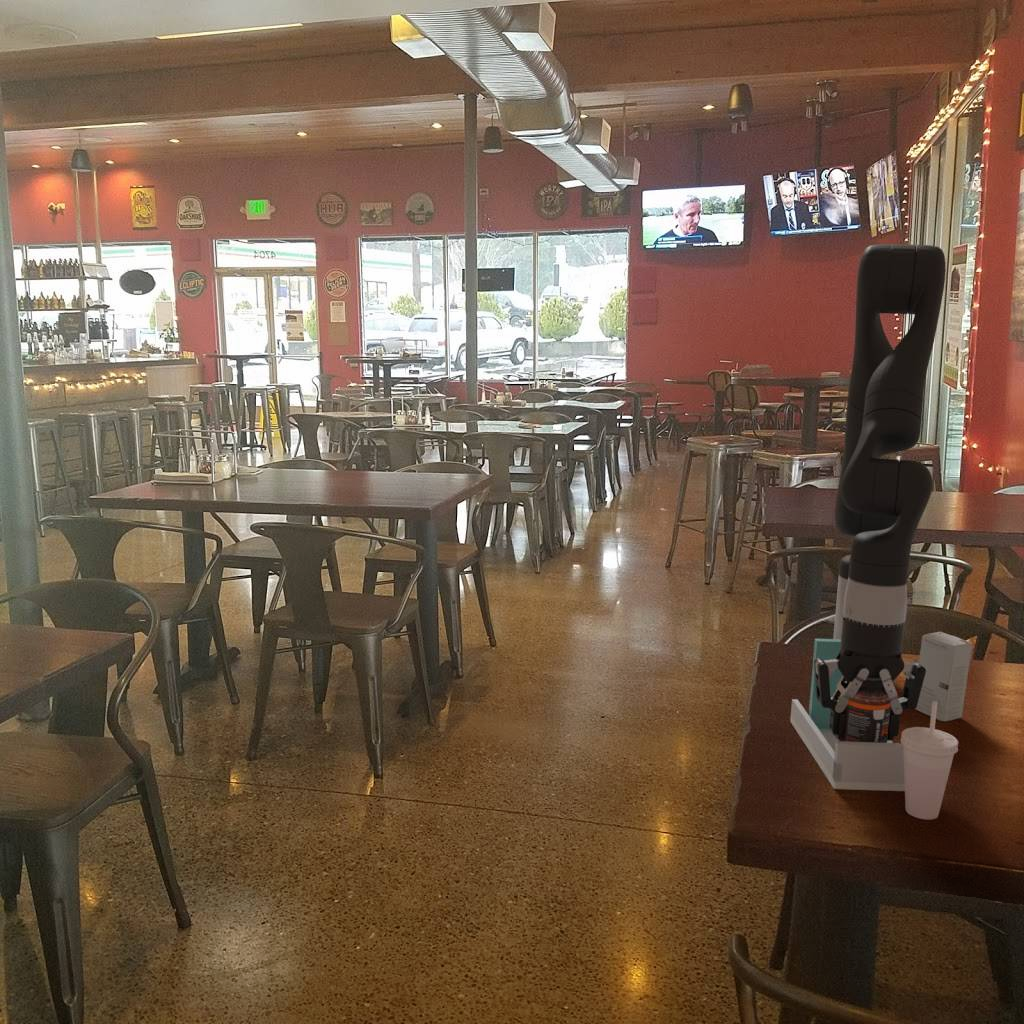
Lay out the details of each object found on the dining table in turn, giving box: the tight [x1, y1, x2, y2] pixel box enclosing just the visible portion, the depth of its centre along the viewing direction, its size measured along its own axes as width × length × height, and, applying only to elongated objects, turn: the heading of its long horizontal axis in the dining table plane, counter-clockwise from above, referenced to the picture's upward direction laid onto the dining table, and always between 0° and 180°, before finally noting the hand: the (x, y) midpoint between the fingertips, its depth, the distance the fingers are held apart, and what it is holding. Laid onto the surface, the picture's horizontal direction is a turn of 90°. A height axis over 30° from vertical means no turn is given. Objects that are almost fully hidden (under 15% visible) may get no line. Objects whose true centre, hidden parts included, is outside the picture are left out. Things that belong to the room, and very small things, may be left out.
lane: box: [790, 698, 905, 792], centre depth 136 cm, size 22×10×6 cm, turn 179°
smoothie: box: [900, 701, 959, 821], centre depth 119 cm, size 6×6×14 cm
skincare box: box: [915, 631, 973, 722], centre depth 151 cm, size 6×4×12 cm
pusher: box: [808, 638, 843, 729], centre depth 141 cm, size 1×7×13 cm, turn 89°
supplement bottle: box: [839, 677, 891, 743], centre depth 130 cm, size 6×6×11 cm
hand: (862, 737), depth 130 cm, fingers closed on supplement bottle, 6 cm apart
